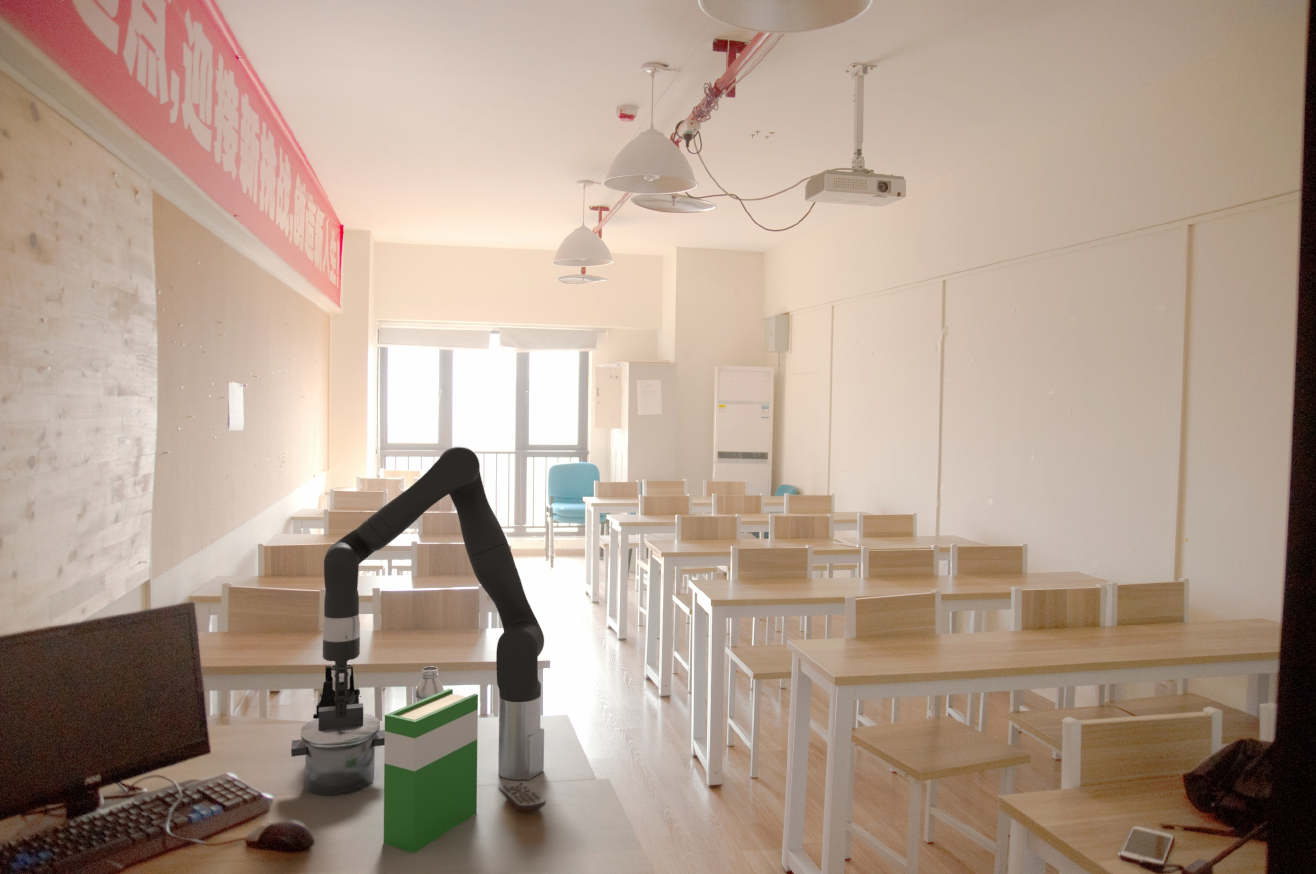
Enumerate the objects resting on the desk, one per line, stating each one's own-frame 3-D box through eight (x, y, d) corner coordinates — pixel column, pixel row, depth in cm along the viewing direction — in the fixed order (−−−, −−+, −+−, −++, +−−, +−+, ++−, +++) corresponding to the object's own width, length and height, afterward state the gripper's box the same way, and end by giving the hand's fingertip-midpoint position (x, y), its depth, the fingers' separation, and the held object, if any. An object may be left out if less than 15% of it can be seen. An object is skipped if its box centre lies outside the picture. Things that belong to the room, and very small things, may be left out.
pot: (385, 762, 192) (385, 714, 192) (389, 789, 179) (389, 737, 178) (292, 774, 185) (293, 724, 185) (289, 802, 171) (290, 749, 171)
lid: (378, 715, 192) (378, 692, 192) (381, 740, 177) (381, 715, 177) (302, 723, 186) (302, 699, 186) (299, 749, 171) (299, 724, 171)
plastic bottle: (436, 759, 194) (437, 673, 194) (409, 756, 196) (410, 671, 195) (448, 748, 201) (449, 665, 200) (422, 746, 202) (423, 663, 202)
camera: (367, 736, 208) (367, 656, 207) (354, 758, 194) (355, 672, 194) (324, 738, 206) (325, 656, 206) (309, 760, 193) (310, 673, 192)
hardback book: (447, 805, 172) (449, 688, 171) (476, 813, 168) (477, 694, 168) (383, 843, 156) (384, 715, 155) (413, 853, 152) (415, 722, 152)
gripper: (361, 642, 176) (360, 721, 176) (358, 626, 189) (358, 699, 190) (322, 645, 173) (321, 725, 173) (323, 629, 187) (322, 703, 187)
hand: (340, 711), depth 181 cm, fingers open, 6 cm apart
